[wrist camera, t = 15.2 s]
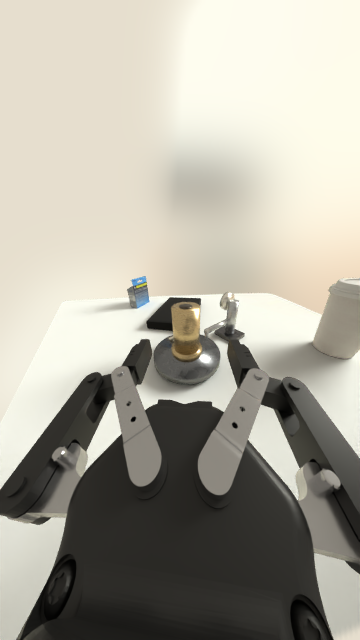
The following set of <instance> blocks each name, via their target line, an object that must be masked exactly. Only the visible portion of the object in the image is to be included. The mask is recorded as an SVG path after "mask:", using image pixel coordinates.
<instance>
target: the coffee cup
mask: <svg viewBox="0 0 360 640" xmlns="http://www.w3.org/2000/svg"><path fill="white" fill-rule="evenodd" d="M328 291H329V292H330V295H329V298H328V300H327V303H326V306H325V309H324V312H323V315H322V317H321V320H320V323H319V326H318V329H317V331H316V334H315V337H314V340H313V343H312V344H313V346H314V347H315V348H316V349H317V350H319V351H321V352H323V353H325V354H327V355H330V356H333V357H336V358H342V359H349V358H352V357H353V356H354V355H355V354H356V353H357V352H358V351H359V350H360V278H344V279H339V280H338V281H337V283H336V284H333V285H332V286H331V287H330V288H329V289H328Z"/></svg>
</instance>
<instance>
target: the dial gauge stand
mask: <svg viewBox="0 0 360 640" xmlns="http://www.w3.org/2000/svg"><path fill="white" fill-rule="evenodd" d="M238 305H239V301H238V300H234V294H233V293H229V292H227V293H225V294H224V295H223V296H222V298H221V301H220V307H221V308H222V309H224V310H227V318H226V319H225V320H223V321H221V322H219V323H217V324H215V325H213V326H211V327H209V328H207V329H205V330H204V333H205V339H208V333H210V332H212V331H214V330H215V334H216V335H218V336H220V337H221V338H223V339H225V340H227V341H229V339H238V340H239V339H241V338H243V337H244V334H245V333H243V332H240V331H238V330H236V329H235V324H236V318H237V311H238ZM224 325H225V326H224ZM222 326H223V327H222ZM220 327H221V328H220ZM218 328H219V329H218ZM216 329H217V330H216Z"/></svg>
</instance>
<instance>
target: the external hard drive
mask: <svg viewBox="0 0 360 640" xmlns="http://www.w3.org/2000/svg"><path fill="white" fill-rule="evenodd" d="M180 302H193V303H197V304H199V305H201V299H200V298H172V297H170V298H169V299H168V300H167V301H166V302H165V303H164V304H163V305H162V306H161V307H160V308H159V309H158V310H157V311H156V312H155V313H154V314H153V315H152V316H151V317H150V318H149V320H148V321H147V328H149V329H159V330H169V331H173V324H172V311H171V307H172V306H173V305H174V304H176V303H180Z"/></svg>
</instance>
